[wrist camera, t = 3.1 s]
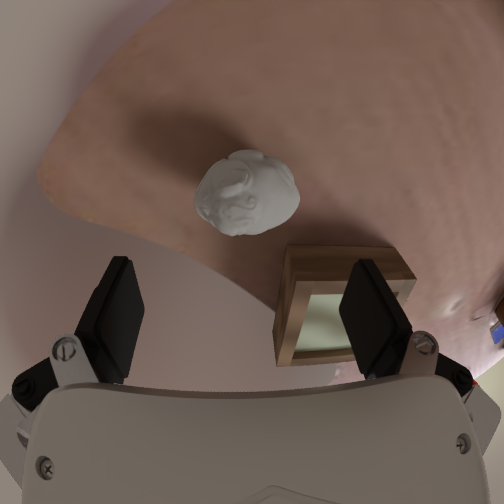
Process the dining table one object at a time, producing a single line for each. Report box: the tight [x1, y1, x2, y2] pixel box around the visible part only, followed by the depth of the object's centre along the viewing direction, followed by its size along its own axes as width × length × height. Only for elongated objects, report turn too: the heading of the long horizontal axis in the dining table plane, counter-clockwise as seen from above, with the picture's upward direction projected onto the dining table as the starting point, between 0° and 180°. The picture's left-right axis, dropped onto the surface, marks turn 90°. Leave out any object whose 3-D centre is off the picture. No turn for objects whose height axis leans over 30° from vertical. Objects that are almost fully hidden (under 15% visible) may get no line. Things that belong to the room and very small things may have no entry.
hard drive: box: [490, 321, 504, 344], centre depth 42 cm, size 2×8×12 cm
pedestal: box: [272, 244, 417, 367], centre depth 27 cm, size 13×12×5 cm
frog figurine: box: [194, 149, 300, 236], centre depth 19 cm, size 6×7×7 cm
